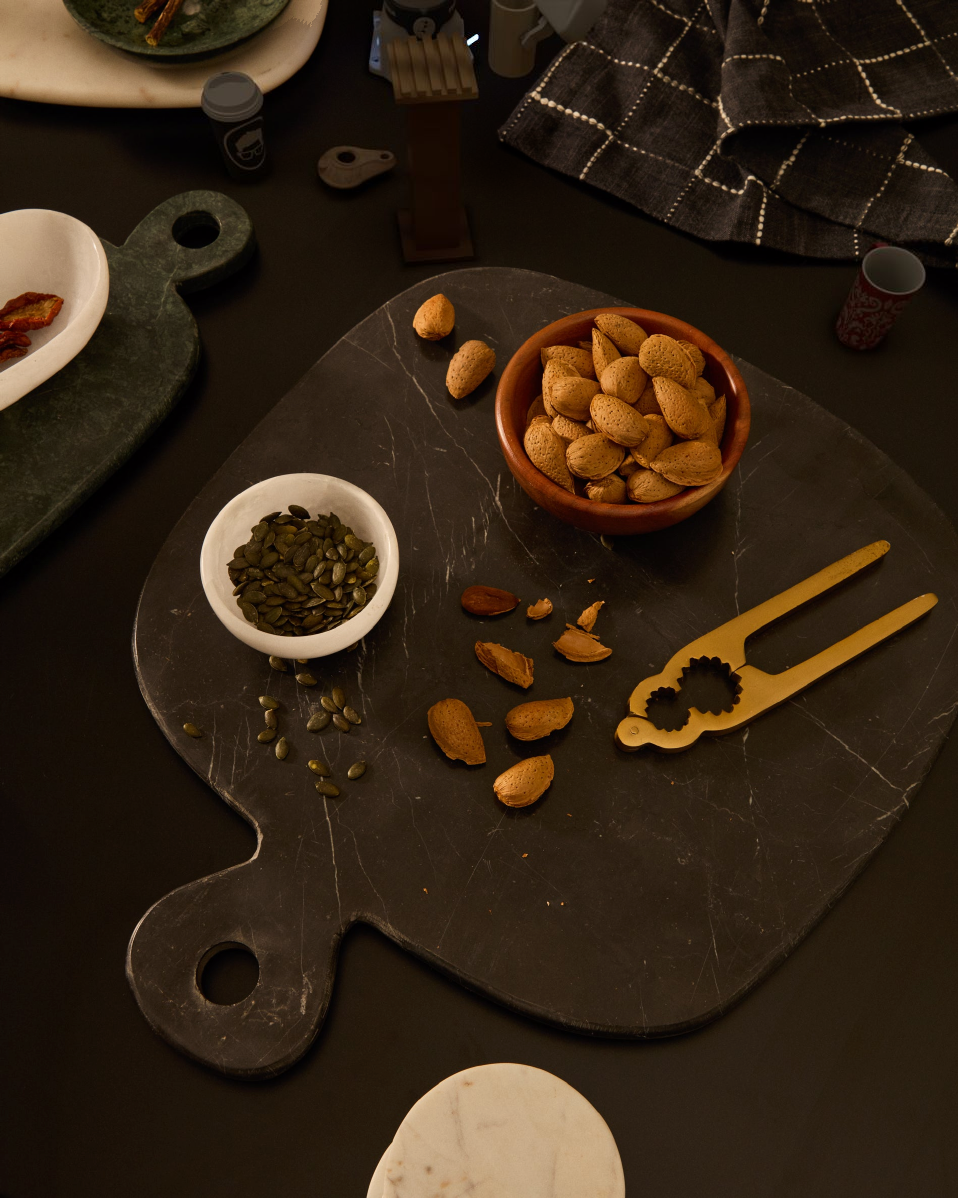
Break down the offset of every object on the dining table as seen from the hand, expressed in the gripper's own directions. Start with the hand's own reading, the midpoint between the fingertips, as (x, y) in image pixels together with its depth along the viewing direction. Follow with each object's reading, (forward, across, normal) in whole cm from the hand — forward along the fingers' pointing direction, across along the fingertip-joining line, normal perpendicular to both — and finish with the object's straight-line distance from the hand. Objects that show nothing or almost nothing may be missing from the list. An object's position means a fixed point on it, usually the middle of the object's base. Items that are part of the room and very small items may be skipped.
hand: (509, 28), depth 137 cm
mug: (-7, +50, +46) cm, 68 cm away
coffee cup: (+46, -21, -6) cm, 51 cm away
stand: (+30, +6, +9) cm, 32 cm away
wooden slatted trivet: (+9, +6, -12) cm, 16 cm away
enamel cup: (+3, 0, +4) cm, 5 cm away
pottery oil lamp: (+35, -11, +5) cm, 37 cm away
